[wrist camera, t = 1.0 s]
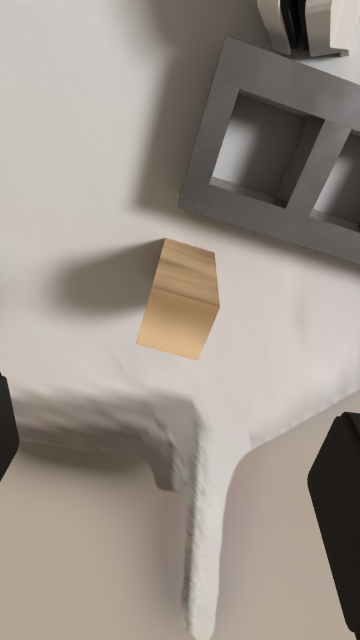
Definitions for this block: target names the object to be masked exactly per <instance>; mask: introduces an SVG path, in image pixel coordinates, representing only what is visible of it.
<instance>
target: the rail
mask: <svg viewBox="0 0 360 640" xmlns="http://www.w3.org/2000/svg"><path fill="white" fill-rule="evenodd" d="M238 94H241V95H244V96H246V97H249V98H252V99H255V100H258V101H260V102H263V103H266V104H269V105H272V106H274V107H277V108H280V109H283V110H286V111H289V112H291V113H294V114H297V115H300V116H303V117H305V118H308V121H307V123H306V125H305V128H304V130H303V133H302V135H301V137H300V140H299V142H298V144H297V147H296V149H295V151H294V154H293V156H292V159H291V161H290V163H289V166H288V168H287V170H286V173H285V175H284V177H283V180H282V182H281V184H280V187H279V189H278V192H277V194H276V196H275V197H273V196H270V195H267V194H264V193H261V192H258V191H255V190H252V189H249V188H246V187H243V186H240V185H237V184H234V183H231V182H228V181H224V180H221V179H218V178H215V177H212V174H213V170H214V167H215V164H216V161H217V158H218V155H219V152H220V148H221V145H222V142H223V139H224V136H225V133H226V130H227V127H228V123H229V120H230V117H231V114H232V111H233V108H234V105H235V102H236V98H237V95H238ZM349 133H350V134H353V135H356V136H359V137H360V85H358V84H355V83H353V82H350V81H347V80H345V79H342V78H339V77H337V76H334V75H331V74H329V73H326V72H323V71H320V70H318V69H315V68H312V67H310V66H307V65H304V64H302V63H299V62H296V61H294V60H291V59H288V58H286V57H283V56H280V55H278V54H275V53H272V52H270V51H267V50H264V49H261V48H259V47H256V46H253V45H251V44H248V43H245V42H243V41H240V40H237V39H235V38H232V37H229V36H227V35H226V38H225V41H224V44H223V47H222V51H221V54H220V58H219V61H218V65H217V68H216V72H215V75H214V79H213V82H212V86H211V89H210V93H209V96H208V100H207V104H206V107H205V111H204V114H203V118H202V121H201V125H200V128H199V132H198V135H197V139H196V142H195V146H194V149H193V153H192V157H191V160H190V164H189V167H188V171H187V174H186V178H185V181H184V185H183V188H182V192H181V195H180V199H179V204H178V208H181V209H184V210H187V211H191V212H194V213H197V214H200V215H203V216H207V217H210V218H213V219H216V220H219V221H223V222H226V223H229V224H232V225H235V226H238V227H242V228H245V229H248V230H251V231H254V232H258V233H261V234H264V235H267V236H270V237H274V238H277V239H280V240H283V241H286V242H289V243H293V244H296V245H299V246H302V247H305V248H309V249H312V250H315V251H318V252H321V253H325V254H328V255H331V256H334V257H337V258H340V259H344V260H347V261H350V262H353V263H356V264H360V224H356V223H353V222H350V221H347V220H344V219H341V218H338V217H335V216H332V215H328V214H325V213H322V212H319V211H316V210H313V207H314V205H315V203H316V201H317V199H318V197H319V195H320V193H321V191H322V189H323V187H324V185H325V183H326V181H327V179H328V177H329V174H330V172H331V170H332V168H333V166H334V164H335V162H336V160H337V158H338V156H339V154H340V152H341V150H342V148H343V146H344V144H345V142H346V140H347V137H348V135H349Z"/></svg>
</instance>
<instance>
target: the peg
mask: <svg viewBox="0 0 360 640" xmlns="http://www.w3.org/2000/svg"><path fill="white" fill-rule="evenodd" d="M219 308H220V304H219V294H218V284H217V274H216V263H215V253H214V252H210V251H207V250H204V249H200V248H197V247H194V246H191V245H187V244H184V243H181V242H177V241H174V240H171V239H167V238H165V241H164V245H163V249H162V252H161V256H160V259H159V263H158V266H157V270H156V273H155V277H154V281H153V284H152V288H151V291H150V295H149V298H148V302H147V306H146V309H145V313H144V316H143V320H142V324H141V327H140V331H139V334H138V338H137V342H136V344H138V345H141V346H145V347H149V348H153V349H156V350H160V351H164V352H168V353H171V354H175V355H179V356H183V357H186V358H190V359H194V360H199V357H200V355H201V352H202V350H203V347H204V345H205V342H206V340H207V337H208V335H209V333H210V330H211V328H212V325H213V323H214V320H215V318H216V315H217V313H218V311H219Z"/></svg>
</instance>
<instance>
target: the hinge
mask: <svg viewBox="0 0 360 640" xmlns="http://www.w3.org/2000/svg"><path fill="white" fill-rule="evenodd" d="M257 6H258V9H259V12H260V15H261V17H262V20H263V23H264V25H265V28H266V31H267V34H268V36H269V39H270V42H271V44H272V47H273V49H274V50H276V51H278V52H281V53H284V54H287V55H289V56H290V54H291V50H292V49H298V45H299V40H300V36H301V31H302V37H303V43H304V50H309V51H310V57H314V56H321V55H328V54H334V53H340V56H349V52H350V49H351V45H352V42H353V38H354V35H355V31H356V28H357V24H358V21H359V17H360V0H257Z"/></svg>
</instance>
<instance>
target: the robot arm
mask: <svg viewBox="0 0 360 640" xmlns="http://www.w3.org/2000/svg"><path fill="white" fill-rule="evenodd" d="M18 446H19V436H18V431H17V426H16V421H15V417H14V412H13V407H12V402H11V397H10V393H9V388H8V383H7V379H6V377H5V376H2V375H1V372H0V481H1V479H2V478H3V476H4V474H5V472H6V470H7V468H8V467H9V465H10V463H11V461H12V459H13V458H14V456H15V454H16V452H17V450H18ZM307 480H308V489H309V492H310V496H311V499H312V503H313V507H314V510H315V513H316V517H317V521H318V525H319V528H320V532H321V535H322V539H323V543H324V546H325V550H326V553H327V557H328V561H329V564H330V568H331V572H332V575H333V579H334V582H335V586H336V590H337V593H338V597H339V600H340V604H341V607H342V611H343V615H344V618H345V622H346V624H347V626H348V628H349V630H350V631H352V632H354V633H355V636H356V639H357V640H360V413H351V412H344V413H343V414H342V415H341V416H337V417H336V418H335V419H334V421H333V424H332V426H331V428H330V430H329V432H328V434H327V436H326V438H325V441H324V443H323V444H322V447H321V449H320V451H319V453H318V455H317V457H316V459H315V461H314V463H313V465H312V467H311V470H310V471H309V474H308V479H307Z"/></svg>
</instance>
